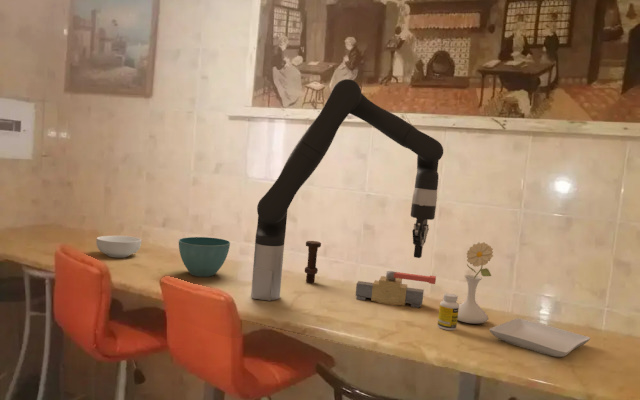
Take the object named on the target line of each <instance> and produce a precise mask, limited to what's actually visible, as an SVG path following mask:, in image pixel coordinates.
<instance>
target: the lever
mask: <svg viewBox="0 0 640 400" xmlns="http://www.w3.org/2000/svg"><path fill="white" fill-rule="evenodd" d="M385 274H386V275H385V277H386V279H388V280H396V278H400V279H402V280H408V281H409V280H410V281H417V282H421V283H422V282H424V283H429V284H430V285H436V279H437V276H436V275H422V274H421V275H420V274H413V273H406V272H399V271H392V270H386V273H385Z"/></svg>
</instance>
